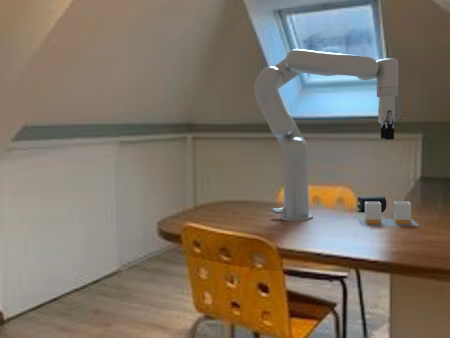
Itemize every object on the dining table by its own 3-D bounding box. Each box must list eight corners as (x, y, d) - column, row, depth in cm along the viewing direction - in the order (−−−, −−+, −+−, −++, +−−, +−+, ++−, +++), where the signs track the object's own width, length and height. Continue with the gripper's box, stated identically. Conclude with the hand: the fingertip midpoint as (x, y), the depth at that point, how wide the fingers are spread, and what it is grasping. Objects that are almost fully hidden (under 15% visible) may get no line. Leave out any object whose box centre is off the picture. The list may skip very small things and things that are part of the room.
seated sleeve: (366, 223, 178) (366, 203, 177) (364, 220, 183) (364, 201, 182) (381, 223, 177) (381, 203, 177) (379, 220, 182) (379, 201, 182)
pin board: (361, 229, 175) (361, 214, 175) (358, 223, 187) (358, 208, 186) (419, 230, 172) (419, 214, 172) (412, 223, 184) (412, 208, 183)
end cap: (362, 214, 204) (362, 198, 203) (356, 211, 211) (356, 195, 210) (386, 213, 204) (386, 197, 204) (380, 210, 211) (380, 194, 211)
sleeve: (396, 223, 177) (396, 203, 176) (393, 220, 182) (393, 201, 181) (411, 223, 176) (411, 203, 175) (408, 221, 181) (408, 201, 180)
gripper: (373, 94, 198) (373, 138, 199) (380, 91, 181) (380, 140, 182) (393, 93, 197) (393, 138, 198) (402, 91, 180) (402, 139, 181)
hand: (387, 138), depth 190 cm, fingers open, 9 cm apart
